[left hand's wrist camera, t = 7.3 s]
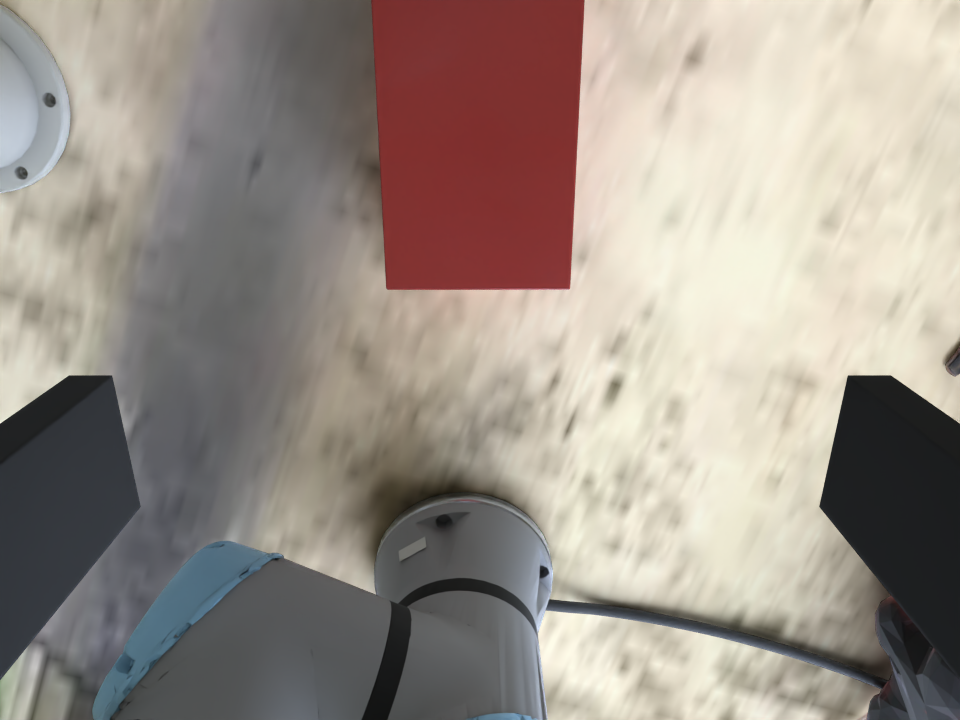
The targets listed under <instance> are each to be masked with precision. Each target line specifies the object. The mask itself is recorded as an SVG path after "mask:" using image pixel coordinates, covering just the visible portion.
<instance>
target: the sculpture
mask: <svg viewBox="0 0 960 720" xmlns="http://www.w3.org/2000/svg"><path fill="white" fill-rule="evenodd" d="M875 626H876V633H877V636H878V640H879V643H880V645H881V647H882V648H883V649H884V650H885V652H886V653H887V654H888V656H889V658H890V661H891V665H892V668H893V672H892V675H891V677H890V679H889V681H888V682H887V683H886V685H885V686H884V687H883V688H882V690H881V691H880V694H878V695H875V696H874V697H873V698H872V700H871V701H870V705H869V710H868V715H867V720H960V680H959V678H958V677H957V676H956V675H955V674H954V672H953V671H952V670H951V669H950V667H949V666H948V665H947V664H946V662H945V661H944V660H943V659H942V658H941V656H940V655H939V654H938V653H937V651H936V650H935V649H934V648H933V646H932V645H931V644H930V643H929V641H928V640H927V639H926V638H925V637H924V635H923V634H922V633H921V632H920V630H919V629H918V628H917V627H916V625H915V624H914V623H913V622H912V620H911V619H910V618H909V617H908V616H907V614H906V613H905V612H904V611H903V609H902V608H901V607H900V606H899V604H898V603H897V602H896V601H895V599H894V598H893V597H892V596H890V597H888V598H886V599H885V600H883V601H881V603H880V605H879V607H878V609H877V611H876V613H875Z"/></svg>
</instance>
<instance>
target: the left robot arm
mask: <svg viewBox="0 0 960 720" xmlns="http://www.w3.org/2000/svg"><path fill="white" fill-rule="evenodd" d="M140 507H141V506H140V502H139V497H138V493H137V488H136V483H135V479H134V474H133V470H132V465H131V460H130V456H129V451H128V447H127V442H126V437H125V433H124V428H123V424H122V419H121V414H120V410H119V405H118V401H117V396H116V391H115V387H114V382H113V378H112V376H68V377H66V378H65V379H63V380H62V381H61V382H59V383H58V384H56V385H55V386H53V387H52V388H51V389H49V390H48V391H46V392H45V393H43V394H42V395H41V396H39V397H38V398H36V399H35V400H33V401H32V402H31V403H29V404H28V405H26V406H25V407H24V408H22V409H21V410H19V411H18V412H16V413H15V414H14V415H12V416H11V417H9V418H8V419H6V420H5V421H4V422H2V423H1V424H0V680H1V678H2V677H3V676H4V675H5V674H6V672H7V671H8V670H9V669H10V667H11V666H12V665H13V664H14V662H15V661H16V660H17V659H18V658H19V656H20V655H21V654H22V653H23V651H24V650H25V649H26V648H27V646H28V645H29V644H30V643H31V641H32V640H33V639H34V638H35V637H36V635H37V634H38V633H39V632H40V630H41V629H42V628H43V627H44V625H45V624H46V623H47V622H48V620H49V619H50V618H51V617H52V616H53V614H54V613H55V612H56V611H57V609H58V608H59V607H60V606H61V604H62V603H63V602H64V601H65V599H66V598H67V597H68V596H69V595H70V593H71V592H72V591H73V590H74V588H75V587H76V586H77V585H78V583H79V582H80V581H81V580H82V578H83V577H84V576H85V575H86V574H87V572H88V571H89V570H90V569H91V567H92V566H93V565H94V564H95V562H96V561H97V560H98V559H99V557H100V556H101V555H102V554H103V553H104V551H105V550H106V549H107V548H108V546H109V545H110V544H111V543H112V541H113V540H114V539H115V538H116V536H117V535H118V534H119V533H120V532H121V530H122V529H123V528H124V527H125V525H126V524H127V523H128V522H129V520H130V519H131V518H132V517H133V516H134V514H135V513H136V512H137V511H138V509H139V508H140ZM819 507H820V508H821V509H822V511H823V512H824V513H825V514H826V516H827V517H828V518H829V519H830V520H831V522H832V523H833V524H834V525H835V527H836V528H837V529H838V530H839V532H840V533H841V534H842V535H843V536H844V538H845V539H846V540H847V541H848V543H849V544H850V545H851V546H852V548H853V549H854V550H855V551H856V553H857V554H858V555H859V556H860V557H861V559H862V560H863V561H864V562H865V564H866V565H867V566H868V567H869V569H870V570H871V571H872V572H873V574H874V575H875V576H876V577H877V578H878V580H879V581H880V582H881V583H882V585H883V586H884V587H885V588H886V590H887V591H888V592H889V593H890V595H891V596H892V597H893V598H894V599H895V601H896V602H897V603H898V604H899V606H900V607H901V608H902V609H903V611H904V612H905V613H906V614H907V616H908V617H909V618H910V619H911V620H912V622H913V623H914V624H915V625H916V627H917V628H918V629H919V630H920V632H921V633H922V634H923V635H924V637H925V638H926V639H927V640H928V641H929V643H930V644H931V645H932V646H933V648H934V649H935V650H936V651H937V653H938V654H939V655H940V656H941V658H942V659H943V660H944V661H945V662H946V664H947V665H948V666H949V667H950V669H951V670H952V671H953V672H954V674H955V675H956V676H957V677H958V678H959V680H960V424H959V423H958V422H956V421H955V420H954V419H952V418H951V417H949V416H948V415H946V414H945V413H944V412H942V411H941V410H939V409H938V408H936V407H935V406H934V405H932V404H931V403H929V402H928V401H927V400H925V399H924V398H922V397H921V396H919V395H918V394H917V393H915V392H914V391H912V390H911V389H909V388H908V387H907V386H905V385H904V384H902V383H901V382H899V381H898V380H897V379H895V378H894V377H892V376H848V378H847V382H846V387H845V391H844V396H843V401H842V405H841V410H840V414H839V419H838V424H837V428H836V433H835V437H834V442H833V447H832V451H831V456H830V460H829V465H828V470H827V474H826V479H825V483H824V488H823V493H822V497H821V502H820V506H819ZM552 578H553V572H552V563H551V556H550V551H549V547H548V544H547V542H546V539H545V537H544V535H543V534H542V532H541V530H540V529H539V528H538V526H537V525H536V524H535V523H534V522H533V520H532V519H531V518H530V517H528V516H527V515H526V514H525V513H524V512H522V511H521V510H520V509H518V508H517V507H515V506H513V505H512V504H510V503H508V502H505V501H503V500H501V499H498V498H495V497H492V496H488V495H483V494H478V493H449V494H443V495H438V496H434V497H431V498H428V499H425V500H423V501H421V502H419V503H417V504H415V505H413V506H411V507H410V508H408V509H407V510H405V511H404V512H403V513H402V514H400V515H399V516H398V517H397V518H396V519H395V520H394V521H393V522H392V523H391V525H390V526H389V527H388V529H387V530H386V532H385V533H384V535H383V537H382V540H381V542H380V545H379V548H378V552H377V557H376V561H375V568H374V582H375V590H376V595H375V594H373V593H370V592H368V591H365V590H363V589H360V588H358V587H355V586H353V585H350V584H347V583H345V582H342V581H340V580H337V579H335V578H332V577H330V576H327V575H325V574H322V573H320V572H317V571H315V570H312V569H310V568H307V567H304V566H302V565H299V564H297V563H294V562H292V561H289V560H287V559H284V557H283V555H281V554H279V553H271V554H268V553H265V552H262V551H259V550H256V549H253V548H250V547H247V546H244V545H241V544H238V543H235V542H231V541H219V542H215V543H212V544H210V545H207V546H205V547H204V548H203V549H201V550H200V551H198V552H197V553H196V554H194V555H193V556H192V557H191V558H190V559H189V560H188V561H187V562H186V563H185V564H184V565H183V566H182V568H181V569H180V570H179V571H178V572H177V573H176V575H175V576H174V577H173V578H172V579H171V581H170V582H169V583H168V584H167V586H166V587H165V588H164V590H163V591H162V592H161V594H160V595H159V596H158V598H157V599H156V600H155V602H154V603H153V604H152V606H151V607H150V609H149V610H148V612H147V613H146V614H145V616H144V617H143V619H142V620H141V622H140V623H139V625H138V626H137V628H136V629H135V630H134V632H133V634H132V635H131V637H130V638H129V640H128V642H127V643H126V645H125V647H124V652H123V654H122V655H121V656H120V657H119V658H118V660H117V661H116V663H115V665H114V666H113V668H112V669H111V670H110V672H109V673H108V675H107V676H106V678H105V680H104V682H103V684H102V686H101V688H100V690H99V692H98V694H97V697H96V699H95V702H94V705H93V710H92V712H93V718H94V719H95V720H548V719H547V710H546V701H545V693H544V684H543V676H542V667H541V658H540V650H539V642H538V631H539V628H540V625H541V622H542V619H543V616H544V613H545V610H548V611H557V612H568V613H580V614H593V615H601V616H609V617H616V618H623V619H629V620H636V621H642V622H647V623H653V624H658V625H663V626H669V627H674V628H679V629H684V630H688V631H693V632H698V633H702V634H707V635H711V636H715V637H720V638H724V639H728V640H732V641H736V642H739V643H743V644H747V645H750V646H754V647H758V648H761V649H765V650H769V651H772V652H776V653H779V654H782V655H786V656H789V657H792V658H796V659H799V660H802V661H805V662H808V663H811V664H814V665H817V666H820V667H823V668H826V669H829V670H832V671H835V672H838V673H840V674H843V675H846V676H849V677H851V678H854V679H857V680H860V681H862V682H865V683H867V684H870V685H872V686H875V687H878V688H880V689H882V688H883V687H884V686H885V685H886V683H887V682H888V681H887V680H885V679H882V678H880V677H877V676H875V675H872V674H869V673H867V672H864V671H862V670H859V669H856V668H854V667H851V666H848V665H845V664H842V663H840V662H837V661H834V660H831V659H828V658H825V657H822V656H819V655H816V654H813V653H810V652H807V651H804V650H801V649H798V648H795V647H791V646H788V645H785V644H781V643H778V642H775V641H771V640H768V639H764V638H761V637H757V636H753V635H750V634H746V633H742V632H739V631H735V630H731V629H727V628H723V627H719V626H715V625H711V624H706V623H702V622H697V621H693V620H688V619H683V618H678V617H673V616H668V615H663V614H658V613H653V612H647V611H641V610H635V609H629V608H622V607H616V606H609V605H601V604H593V603H583V602H570V601H560V600H551V599H549V598H550V594H551V588H552Z"/></svg>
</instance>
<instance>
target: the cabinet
mask: <svg viewBox="0 0 960 720" xmlns="http://www.w3.org/2000/svg"><path fill="white" fill-rule="evenodd" d="M371 4H372V23H373V42H374V61H375V81H376V100H377V119H378V138H379V157H380V177H381V196H382V215H383V234H384V253H385V272H386V288H387V289H388V290H569V289H570V280H571V260H572V240H573V220H574V200H575V180H576V160H577V140H578V120H579V100H580V80H581V60H582V40H583V20H584V0H371Z"/></svg>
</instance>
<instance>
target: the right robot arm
mask: <svg viewBox="0 0 960 720" xmlns="http://www.w3.org/2000/svg"><path fill="white" fill-rule="evenodd" d="M54 97H55V99H56V103H55V101H54ZM69 129H70V106H69V98H68V93H67V90H66V86H65V83H64V79H63V76H62V74H61V72H60V70H59V68H58V66H57V64H56V61H55V59H54V57H53V56H52V54H51V53H50V51H49V50H48V48H47V47H46V45H45V44H44V43H43V41H42V40H41V38H40V37H39V36H38V35H37V34H36V33H35V32H34V31H33V30H32V29H31V28H30V26H29V25H28V24H27V23H26V22H25V21H23V20H22V19H21V18H19V17H18V16H17V15H16V14H14V13H13V12H12V11H11V10H9V9H8V8H6V7H4V6H3V5H1V4H0V193H5V192H10V191H14V190H19V189H21V188H24V187H27V186H29V185H32V184H34V183H35V182H37V181H38V180H40V179H41V178H43V177H44V176H46V175H47V174H48V173H49V172H50V170H51V169H52V168H53V167H54V166H55V165H56V164H57V162H58V160H59V159H60V157H61V155H62V153H63V151H64V149H65V146H66V142H67V139H68V135H69ZM26 170H27V172H26ZM27 173H28V174H27Z"/></svg>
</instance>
